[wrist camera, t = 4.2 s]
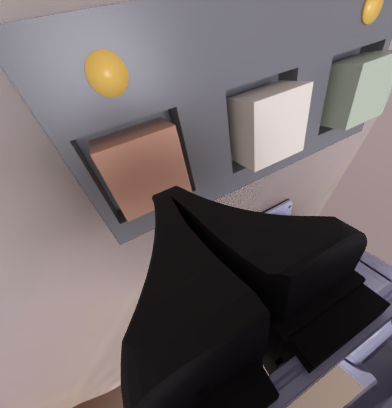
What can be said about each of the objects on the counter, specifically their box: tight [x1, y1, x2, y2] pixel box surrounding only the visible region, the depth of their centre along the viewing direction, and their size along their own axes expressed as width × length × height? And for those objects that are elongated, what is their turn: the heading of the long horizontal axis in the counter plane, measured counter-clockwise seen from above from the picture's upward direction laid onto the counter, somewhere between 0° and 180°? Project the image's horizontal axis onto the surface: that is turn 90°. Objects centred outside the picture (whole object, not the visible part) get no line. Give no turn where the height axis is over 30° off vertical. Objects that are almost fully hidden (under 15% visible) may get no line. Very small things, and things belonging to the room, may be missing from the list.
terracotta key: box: [89, 117, 192, 222], centre depth 14 cm, size 5×5×3 cm
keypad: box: [0, 0, 392, 245], centre depth 16 cm, size 13×28×3 cm, turn 102°
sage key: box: [320, 50, 392, 131], centre depth 18 cm, size 5×5×3 cm
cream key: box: [227, 80, 314, 172], centre depth 15 cm, size 5×5×3 cm
